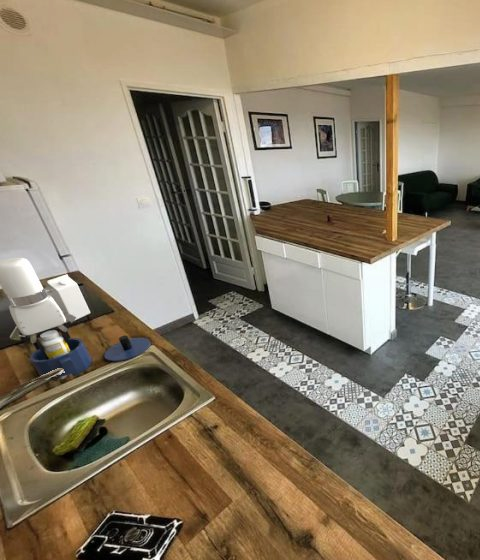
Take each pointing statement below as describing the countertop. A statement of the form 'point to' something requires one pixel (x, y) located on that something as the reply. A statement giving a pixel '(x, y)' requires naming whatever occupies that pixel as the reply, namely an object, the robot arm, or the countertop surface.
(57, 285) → the milk carton
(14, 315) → the robot arm
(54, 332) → the supplement bottle
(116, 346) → the pot lid
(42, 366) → the pot
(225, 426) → the countertop surface
